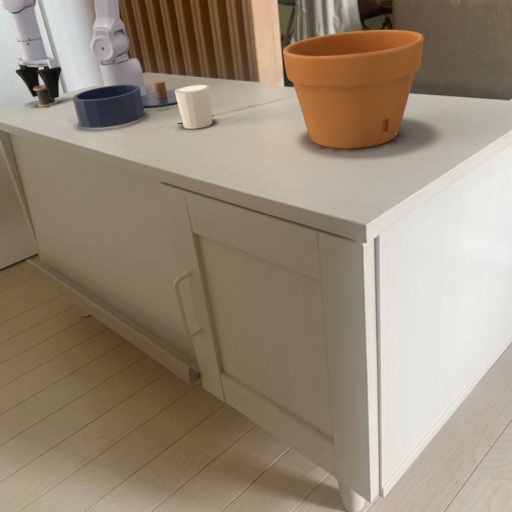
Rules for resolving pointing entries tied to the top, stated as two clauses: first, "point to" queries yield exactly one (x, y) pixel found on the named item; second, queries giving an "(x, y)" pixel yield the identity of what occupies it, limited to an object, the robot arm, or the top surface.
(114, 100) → the pot
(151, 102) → the pot lid
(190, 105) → the white cup
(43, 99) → the spool
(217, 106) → the top surface
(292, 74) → the flower pot
